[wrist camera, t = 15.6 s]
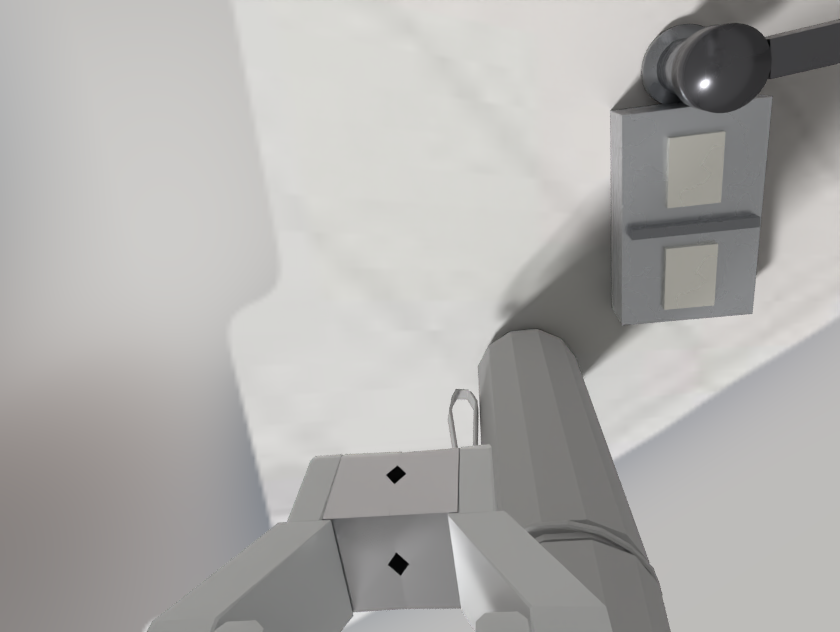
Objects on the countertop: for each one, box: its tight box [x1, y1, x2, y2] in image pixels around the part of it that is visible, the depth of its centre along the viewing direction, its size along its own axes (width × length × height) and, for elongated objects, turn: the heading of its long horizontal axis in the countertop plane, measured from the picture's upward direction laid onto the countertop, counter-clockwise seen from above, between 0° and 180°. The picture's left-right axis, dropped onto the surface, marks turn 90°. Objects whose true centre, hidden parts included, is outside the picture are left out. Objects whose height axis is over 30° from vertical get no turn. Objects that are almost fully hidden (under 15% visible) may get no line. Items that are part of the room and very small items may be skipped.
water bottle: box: [448, 329, 671, 632], centre depth 33 cm, size 9×8×25 cm
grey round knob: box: [641, 24, 705, 105], centre depth 33 cm, size 4×4×4 cm
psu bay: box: [610, 94, 773, 325], centre depth 37 cm, size 13×8×4 cm, turn 8°
